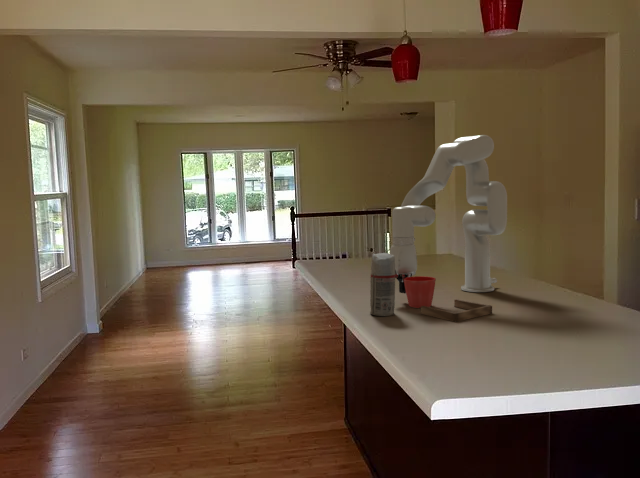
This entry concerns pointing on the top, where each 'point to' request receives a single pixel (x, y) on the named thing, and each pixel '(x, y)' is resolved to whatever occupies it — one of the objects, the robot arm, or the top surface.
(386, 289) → the spray can
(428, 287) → the flower pot
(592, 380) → the top surface
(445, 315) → the wooden bars
